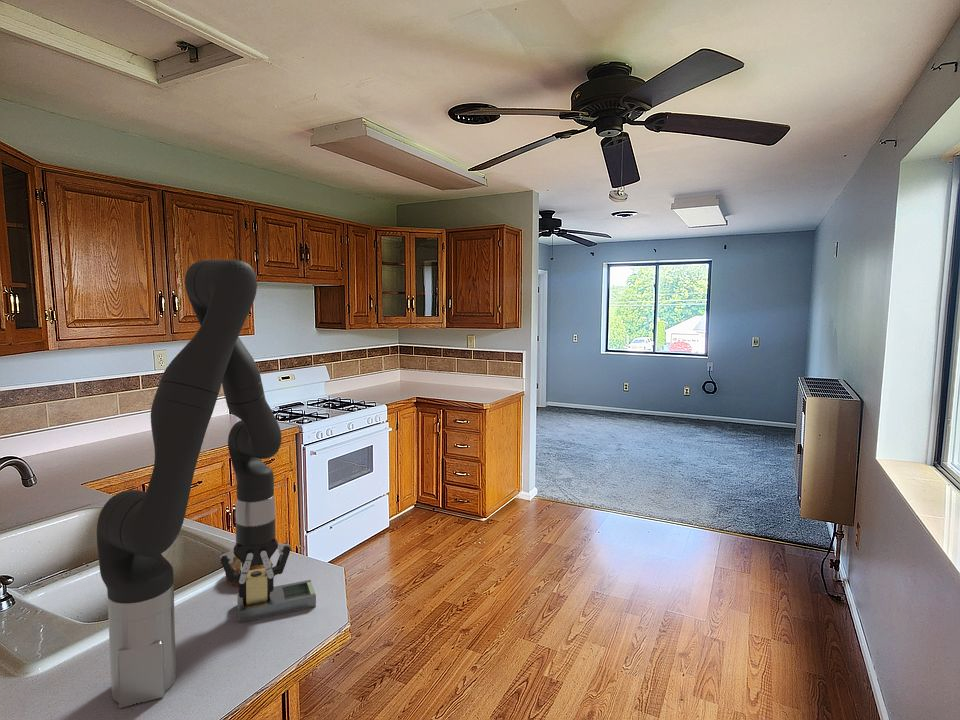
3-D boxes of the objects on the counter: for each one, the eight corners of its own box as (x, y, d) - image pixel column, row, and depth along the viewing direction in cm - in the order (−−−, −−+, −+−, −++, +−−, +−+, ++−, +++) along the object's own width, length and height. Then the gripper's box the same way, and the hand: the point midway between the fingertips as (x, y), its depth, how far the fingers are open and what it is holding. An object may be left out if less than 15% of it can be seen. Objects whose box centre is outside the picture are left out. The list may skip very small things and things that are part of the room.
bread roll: (263, 578, 132) (256, 546, 134) (284, 575, 126) (276, 541, 127) (223, 594, 125) (215, 560, 126) (242, 591, 118) (234, 555, 120)
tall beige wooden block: (267, 613, 112) (267, 576, 111) (246, 617, 111) (246, 580, 110) (265, 602, 116) (265, 567, 115) (245, 607, 114) (245, 570, 113)
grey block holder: (315, 606, 115) (315, 595, 115) (239, 623, 109) (238, 611, 108) (310, 590, 121) (310, 579, 121) (237, 604, 115) (237, 593, 114)
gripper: (217, 529, 104) (218, 613, 106) (294, 518, 111) (294, 597, 113) (217, 515, 111) (218, 593, 113) (289, 505, 117) (289, 580, 119)
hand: (256, 595), depth 113 cm, fingers closed on tall beige wooden block, 4 cm apart
